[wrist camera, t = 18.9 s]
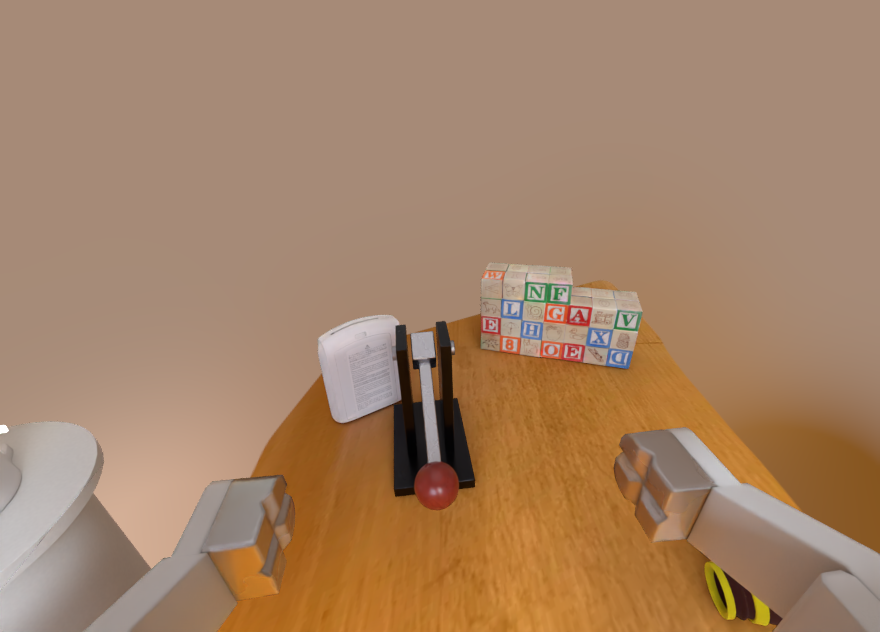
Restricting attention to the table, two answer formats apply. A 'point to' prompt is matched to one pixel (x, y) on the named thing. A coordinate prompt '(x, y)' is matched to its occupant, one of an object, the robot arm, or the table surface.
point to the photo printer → (360, 366)
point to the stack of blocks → (556, 316)
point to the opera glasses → (736, 598)
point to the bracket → (411, 420)
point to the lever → (431, 433)
